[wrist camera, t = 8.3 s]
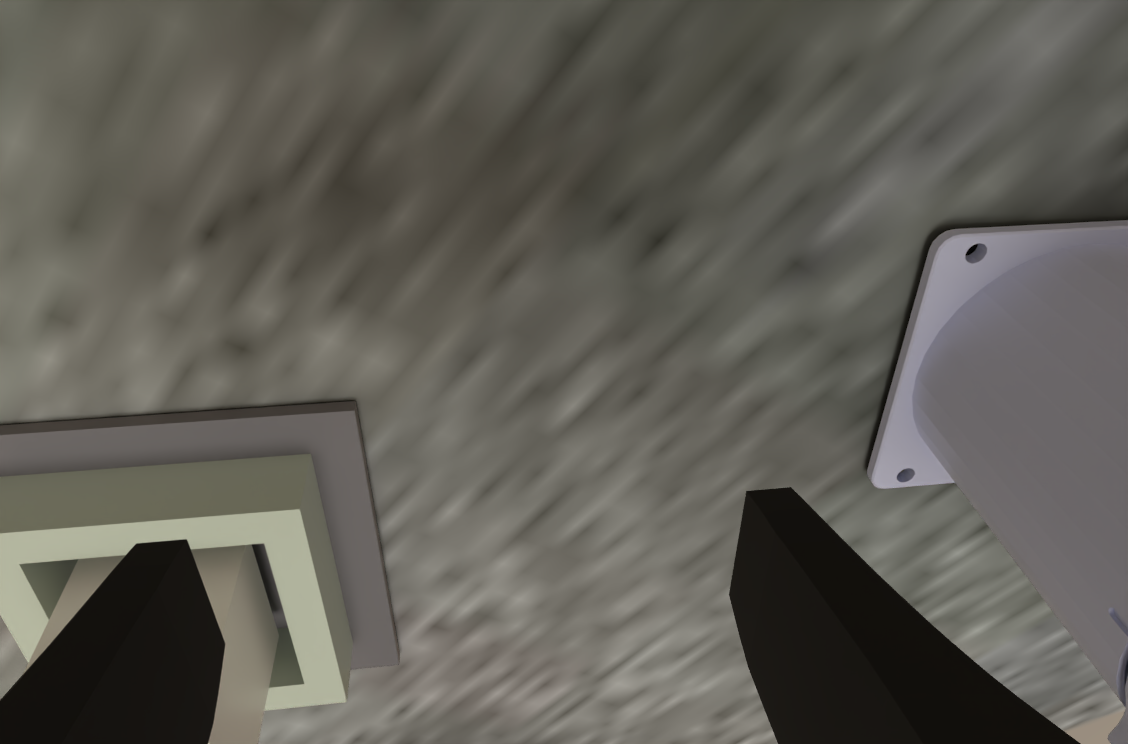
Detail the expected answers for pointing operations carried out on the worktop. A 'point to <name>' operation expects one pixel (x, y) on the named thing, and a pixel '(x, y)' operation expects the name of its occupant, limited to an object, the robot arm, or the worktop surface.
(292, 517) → the socket block
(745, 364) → the worktop surface
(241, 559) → the plug
